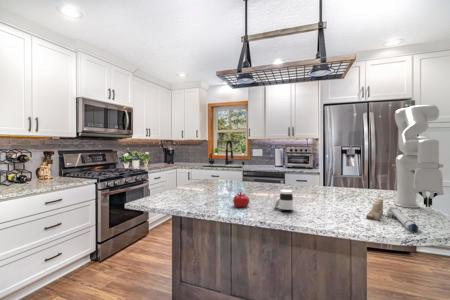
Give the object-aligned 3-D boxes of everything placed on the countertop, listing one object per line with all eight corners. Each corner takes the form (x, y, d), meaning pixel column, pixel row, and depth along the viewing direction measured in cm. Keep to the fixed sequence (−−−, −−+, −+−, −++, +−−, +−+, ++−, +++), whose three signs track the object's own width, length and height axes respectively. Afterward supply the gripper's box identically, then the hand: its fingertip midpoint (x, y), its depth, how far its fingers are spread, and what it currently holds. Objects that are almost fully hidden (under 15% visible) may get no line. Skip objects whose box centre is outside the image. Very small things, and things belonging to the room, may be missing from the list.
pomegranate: (251, 208, 147) (251, 193, 147) (236, 209, 144) (236, 193, 144) (245, 203, 156) (245, 189, 156) (231, 204, 154) (231, 190, 153)
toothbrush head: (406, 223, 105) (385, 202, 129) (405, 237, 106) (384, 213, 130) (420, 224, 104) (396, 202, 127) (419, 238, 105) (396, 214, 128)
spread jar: (293, 213, 134) (293, 192, 134) (272, 212, 137) (272, 191, 137) (292, 207, 146) (292, 188, 146) (273, 206, 149) (273, 188, 148)
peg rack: (371, 211, 136) (371, 197, 135) (383, 213, 132) (383, 199, 132) (366, 218, 123) (366, 203, 123) (378, 220, 120) (378, 204, 120)
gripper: (449, 166, 107) (449, 207, 107) (407, 165, 117) (407, 202, 117) (451, 167, 102) (450, 211, 102) (406, 166, 111) (406, 205, 111)
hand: (427, 206), depth 109 cm, fingers closed
